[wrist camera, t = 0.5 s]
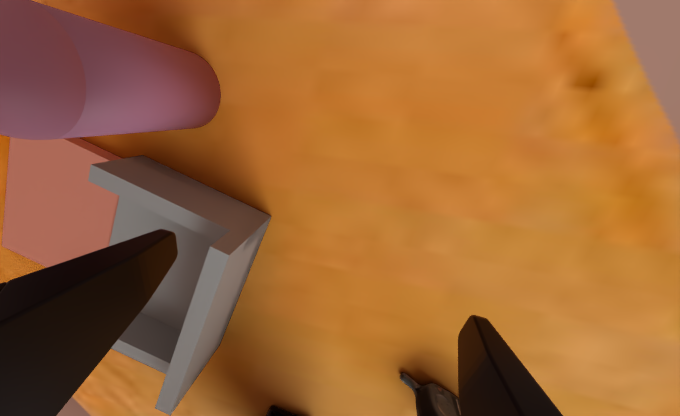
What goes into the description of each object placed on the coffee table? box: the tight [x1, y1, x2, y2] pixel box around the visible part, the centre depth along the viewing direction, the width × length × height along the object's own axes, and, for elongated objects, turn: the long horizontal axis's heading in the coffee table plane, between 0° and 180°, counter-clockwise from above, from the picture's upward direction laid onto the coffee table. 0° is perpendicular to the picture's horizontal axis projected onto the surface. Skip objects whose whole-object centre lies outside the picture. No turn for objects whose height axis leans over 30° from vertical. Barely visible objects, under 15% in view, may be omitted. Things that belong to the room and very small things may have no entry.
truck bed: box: [2, 137, 271, 415], centre depth 23 cm, size 14×20×7 cm
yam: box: [0, 0, 221, 140], centre depth 16 cm, size 5×5×13 cm
